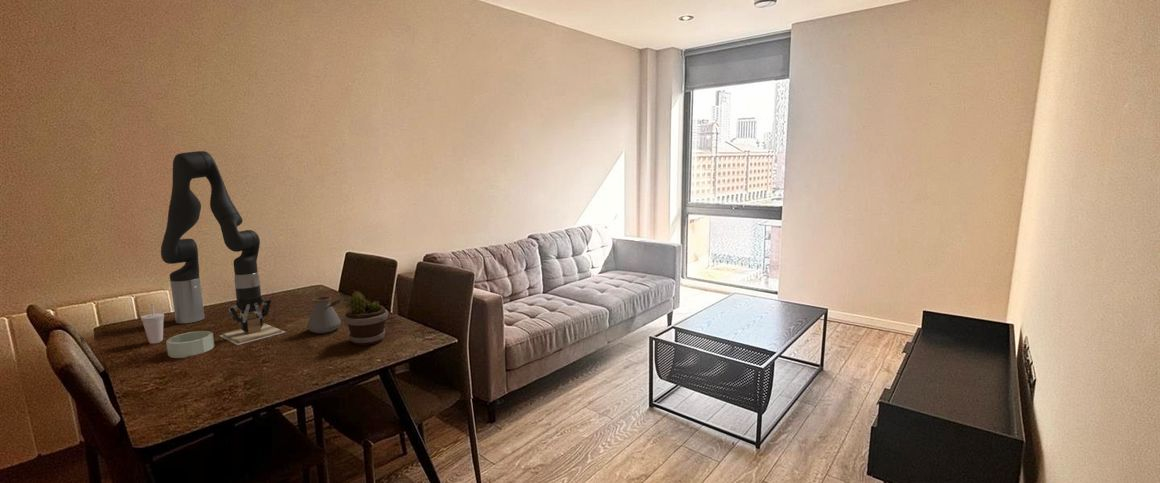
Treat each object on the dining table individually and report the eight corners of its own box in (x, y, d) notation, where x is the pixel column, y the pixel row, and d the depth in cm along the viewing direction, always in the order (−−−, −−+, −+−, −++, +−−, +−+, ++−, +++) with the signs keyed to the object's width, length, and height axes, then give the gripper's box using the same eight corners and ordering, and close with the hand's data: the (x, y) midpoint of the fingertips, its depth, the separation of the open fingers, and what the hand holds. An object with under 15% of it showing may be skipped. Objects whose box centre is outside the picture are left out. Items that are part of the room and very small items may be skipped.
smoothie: (154, 345, 171) (148, 307, 169) (139, 344, 173) (133, 306, 170) (172, 339, 178) (167, 302, 175) (158, 337, 179) (152, 300, 177)
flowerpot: (371, 331, 187) (368, 280, 184) (398, 338, 179) (395, 285, 176) (336, 343, 174) (331, 288, 171) (363, 351, 167) (359, 294, 164)
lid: (223, 335, 181) (221, 320, 180) (264, 325, 192) (263, 310, 191) (239, 343, 173) (238, 327, 172) (282, 332, 184) (280, 317, 183)
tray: (219, 336, 180) (219, 335, 180) (266, 325, 193) (266, 324, 193) (238, 345, 171) (237, 344, 171) (286, 333, 184) (286, 332, 184)
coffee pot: (302, 331, 186) (299, 293, 184) (333, 324, 195) (330, 287, 192) (326, 345, 172) (322, 304, 170) (358, 336, 181) (355, 297, 179)
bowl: (163, 352, 165) (161, 338, 164) (205, 342, 175) (204, 328, 174) (176, 360, 158) (174, 346, 158) (219, 349, 168) (217, 335, 167)
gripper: (264, 279, 187) (268, 322, 190) (220, 287, 176) (226, 333, 178) (273, 282, 183) (277, 326, 186) (229, 290, 171) (235, 337, 174)
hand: (252, 329), depth 182 cm, fingers closed on lid, 4 cm apart
